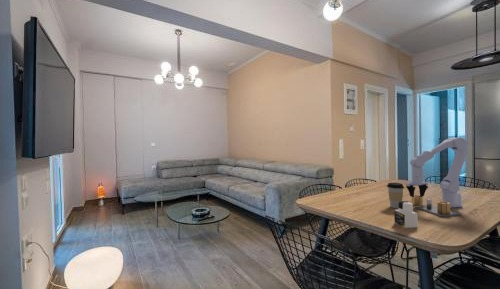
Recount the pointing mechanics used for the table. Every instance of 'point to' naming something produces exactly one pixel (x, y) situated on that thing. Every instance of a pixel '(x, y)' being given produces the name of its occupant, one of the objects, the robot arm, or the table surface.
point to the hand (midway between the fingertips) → (416, 196)
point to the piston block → (438, 209)
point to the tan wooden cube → (417, 200)
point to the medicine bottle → (406, 215)
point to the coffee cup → (395, 194)
